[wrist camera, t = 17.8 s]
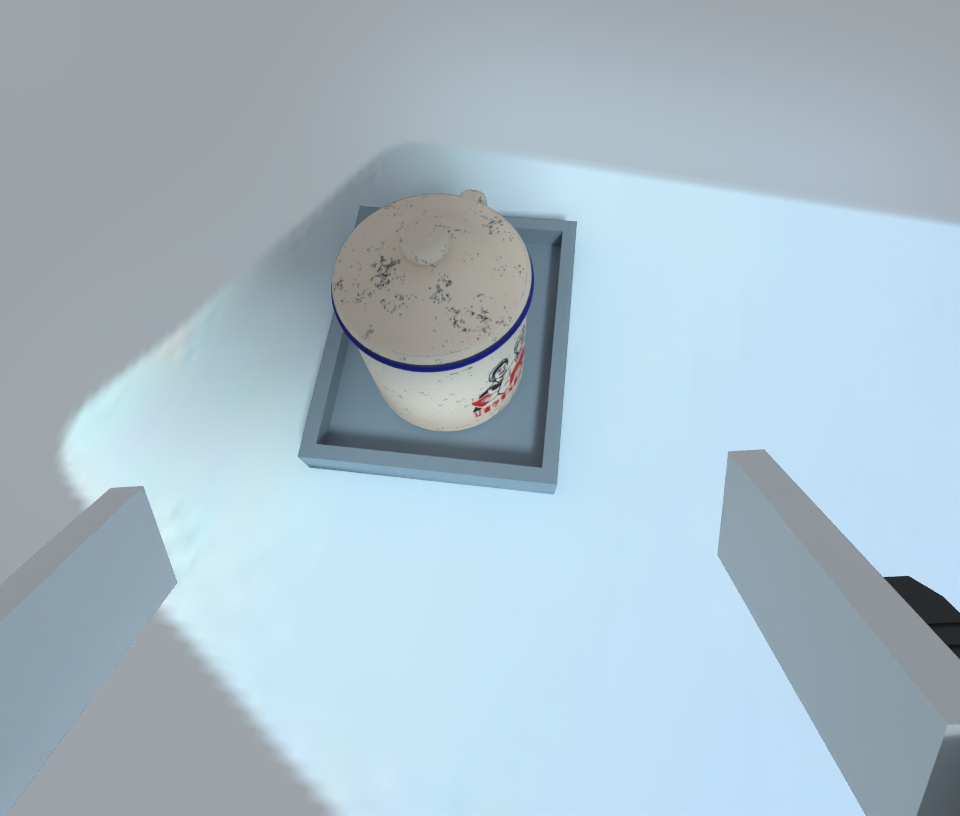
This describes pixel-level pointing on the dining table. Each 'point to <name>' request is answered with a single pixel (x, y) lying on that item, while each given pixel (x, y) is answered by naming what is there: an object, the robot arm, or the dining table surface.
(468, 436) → the slate tray
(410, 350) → the teacup with lid
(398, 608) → the dining table surface
